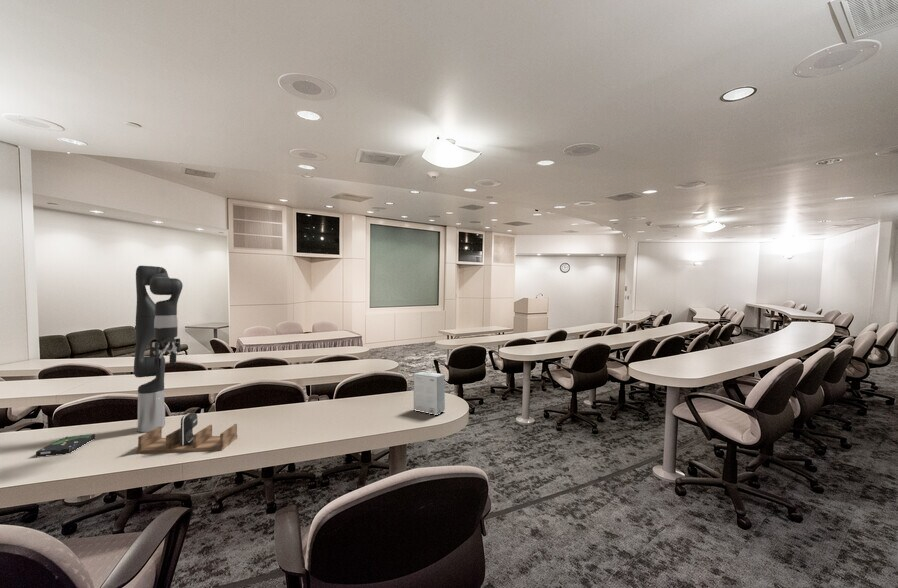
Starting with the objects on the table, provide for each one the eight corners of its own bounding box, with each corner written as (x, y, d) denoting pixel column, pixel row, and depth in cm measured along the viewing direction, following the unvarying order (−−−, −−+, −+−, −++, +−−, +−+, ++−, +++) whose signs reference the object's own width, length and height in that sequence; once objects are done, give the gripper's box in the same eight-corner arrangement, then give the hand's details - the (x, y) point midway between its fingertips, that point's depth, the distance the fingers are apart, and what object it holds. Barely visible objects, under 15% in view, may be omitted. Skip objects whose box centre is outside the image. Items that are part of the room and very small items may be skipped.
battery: (191, 445, 139) (191, 416, 139) (180, 446, 138) (180, 417, 138) (198, 438, 146) (198, 411, 146) (187, 439, 145) (188, 412, 145)
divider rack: (159, 440, 147) (159, 426, 147) (237, 438, 149) (237, 423, 150) (137, 453, 135) (137, 437, 135) (222, 450, 137) (222, 434, 138)
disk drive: (70, 455, 135) (95, 439, 149) (70, 447, 135) (95, 433, 149) (35, 459, 131) (64, 443, 145) (35, 451, 131) (64, 436, 145)
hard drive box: (445, 412, 183) (445, 374, 183) (437, 416, 177) (437, 377, 177) (421, 407, 192) (421, 371, 192) (412, 411, 185) (413, 373, 185)
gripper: (168, 325, 151) (168, 362, 151) (142, 327, 137) (142, 369, 137) (186, 324, 152) (186, 362, 152) (163, 327, 138) (162, 368, 138)
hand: (165, 365), depth 144 cm, fingers open, 8 cm apart
